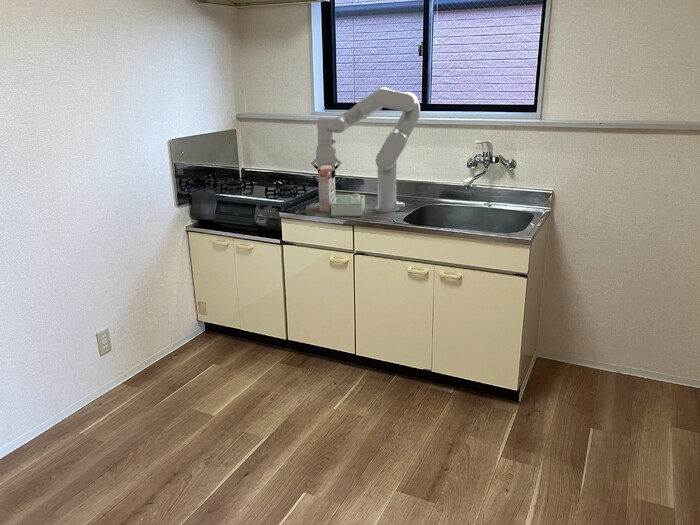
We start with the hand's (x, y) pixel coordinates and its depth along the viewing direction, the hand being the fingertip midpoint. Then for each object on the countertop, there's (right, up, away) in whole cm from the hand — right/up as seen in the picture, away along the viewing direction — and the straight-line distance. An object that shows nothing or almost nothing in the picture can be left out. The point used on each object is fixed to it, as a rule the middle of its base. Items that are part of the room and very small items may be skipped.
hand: (326, 177), depth 293 cm
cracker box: (0, -16, +6) cm, 17 cm away
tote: (+11, -18, -1) cm, 21 cm away
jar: (+15, -17, -2) cm, 23 cm away
